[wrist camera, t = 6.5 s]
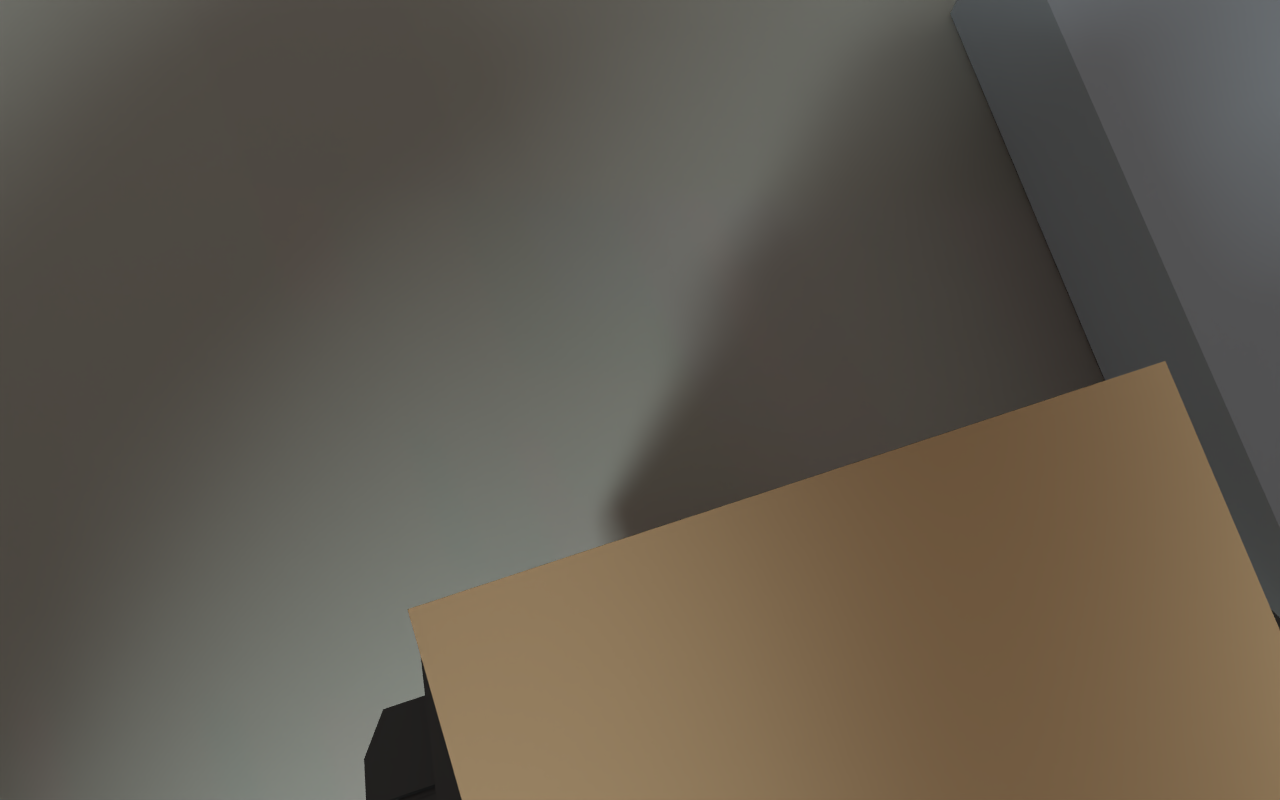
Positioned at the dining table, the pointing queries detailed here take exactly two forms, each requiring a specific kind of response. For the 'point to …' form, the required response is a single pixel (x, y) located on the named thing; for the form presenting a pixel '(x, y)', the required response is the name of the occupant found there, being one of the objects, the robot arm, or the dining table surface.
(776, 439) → the dining table surface
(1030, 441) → the block
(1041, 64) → the plinth
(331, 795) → the dining table surface
